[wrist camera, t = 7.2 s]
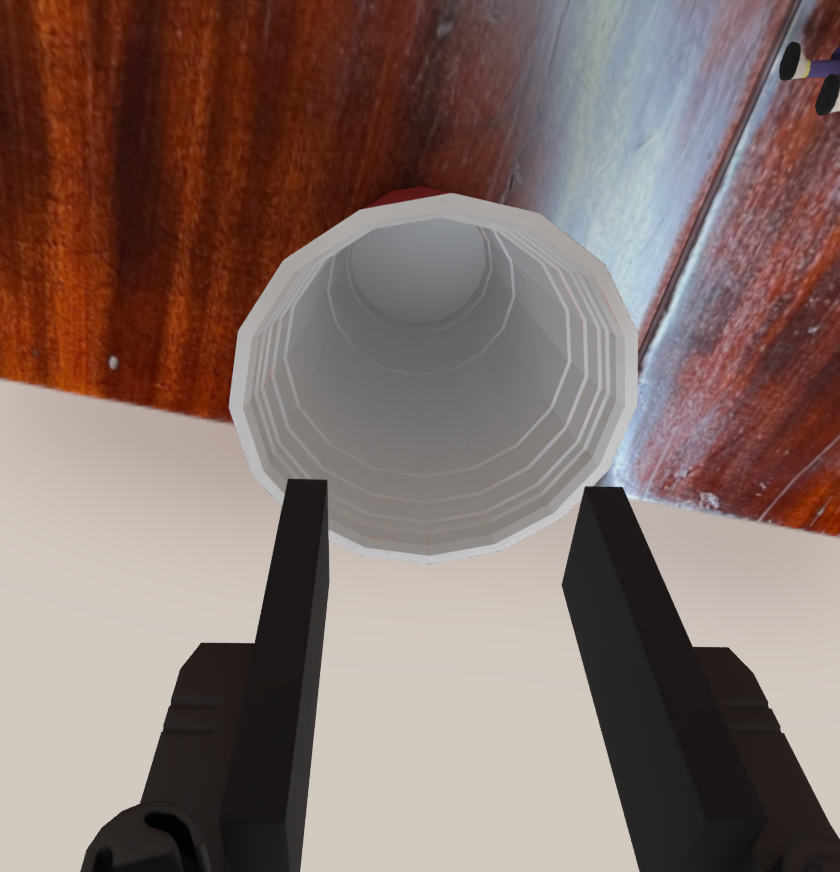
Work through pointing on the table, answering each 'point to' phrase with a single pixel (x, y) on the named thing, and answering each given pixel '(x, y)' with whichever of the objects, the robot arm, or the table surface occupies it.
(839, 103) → the figurine
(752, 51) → the table surface
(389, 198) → the plastic cup
